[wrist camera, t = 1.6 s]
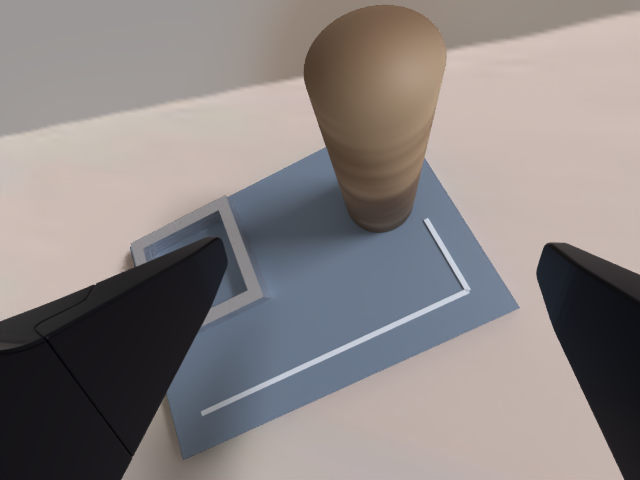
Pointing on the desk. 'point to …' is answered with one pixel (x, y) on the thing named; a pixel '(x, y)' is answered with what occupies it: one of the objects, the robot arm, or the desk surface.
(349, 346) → the board
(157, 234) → the metal collar
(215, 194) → the desk surface
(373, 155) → the tan wooden peg
